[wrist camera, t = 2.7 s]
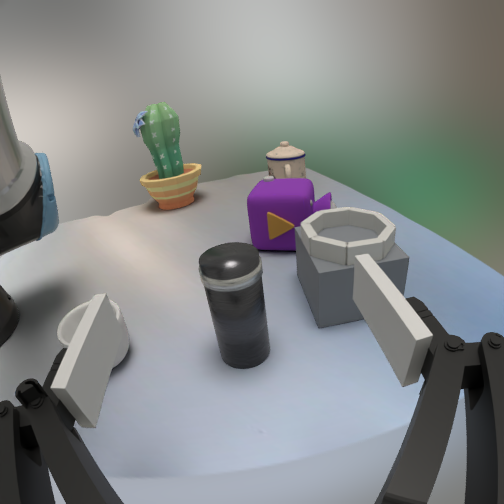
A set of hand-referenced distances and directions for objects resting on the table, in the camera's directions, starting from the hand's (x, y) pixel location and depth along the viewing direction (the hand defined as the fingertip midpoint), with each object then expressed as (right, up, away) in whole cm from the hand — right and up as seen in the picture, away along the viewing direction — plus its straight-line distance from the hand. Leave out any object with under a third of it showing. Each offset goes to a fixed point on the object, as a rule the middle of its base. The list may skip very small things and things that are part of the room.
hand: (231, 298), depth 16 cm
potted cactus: (-17, +14, +61) cm, 65 cm away
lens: (0, -8, +16) cm, 17 cm away
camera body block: (+13, -3, +22) cm, 26 cm away
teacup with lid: (+10, +16, +58) cm, 62 cm away
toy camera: (+8, +4, +36) cm, 37 cm away
